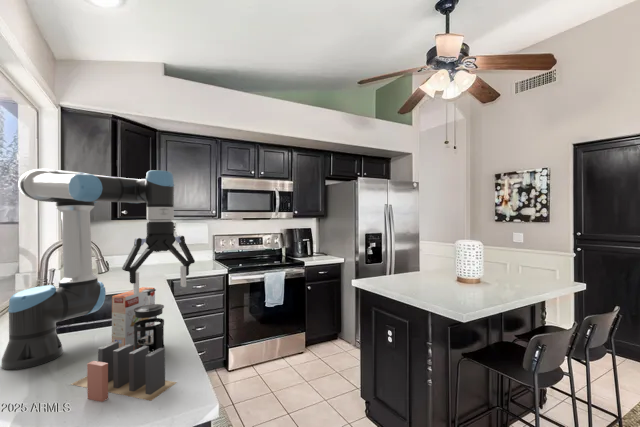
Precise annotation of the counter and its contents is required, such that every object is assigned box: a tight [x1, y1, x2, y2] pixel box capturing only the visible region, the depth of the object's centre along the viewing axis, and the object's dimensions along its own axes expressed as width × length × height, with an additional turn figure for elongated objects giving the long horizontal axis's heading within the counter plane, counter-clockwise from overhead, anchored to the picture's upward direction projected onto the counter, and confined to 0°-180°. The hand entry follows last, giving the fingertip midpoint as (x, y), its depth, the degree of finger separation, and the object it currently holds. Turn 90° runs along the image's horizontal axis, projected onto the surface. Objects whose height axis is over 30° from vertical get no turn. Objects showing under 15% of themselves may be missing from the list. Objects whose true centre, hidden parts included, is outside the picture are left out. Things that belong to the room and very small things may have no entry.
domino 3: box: [129, 346, 150, 392], centre depth 86 cm, size 2×5×10 cm, turn 163°
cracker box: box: [111, 286, 156, 348], centre depth 112 cm, size 14×6×21 cm, turn 168°
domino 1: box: [97, 341, 119, 382], centre depth 89 cm, size 2×5×10 cm, turn 163°
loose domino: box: [86, 360, 109, 403], centre depth 81 cm, size 2×5×10 cm, turn 73°
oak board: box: [70, 375, 178, 402], centre depth 88 cm, size 28×9×1 cm, turn 73°
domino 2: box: [113, 344, 134, 388], centre depth 88 cm, size 2×5×10 cm, turn 163°
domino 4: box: [145, 347, 166, 395], centre depth 85 cm, size 2×5×10 cm, turn 163°
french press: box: [134, 288, 165, 352], centre depth 105 cm, size 12×9×23 cm
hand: (161, 290), depth 97 cm, fingers open, 13 cm apart
